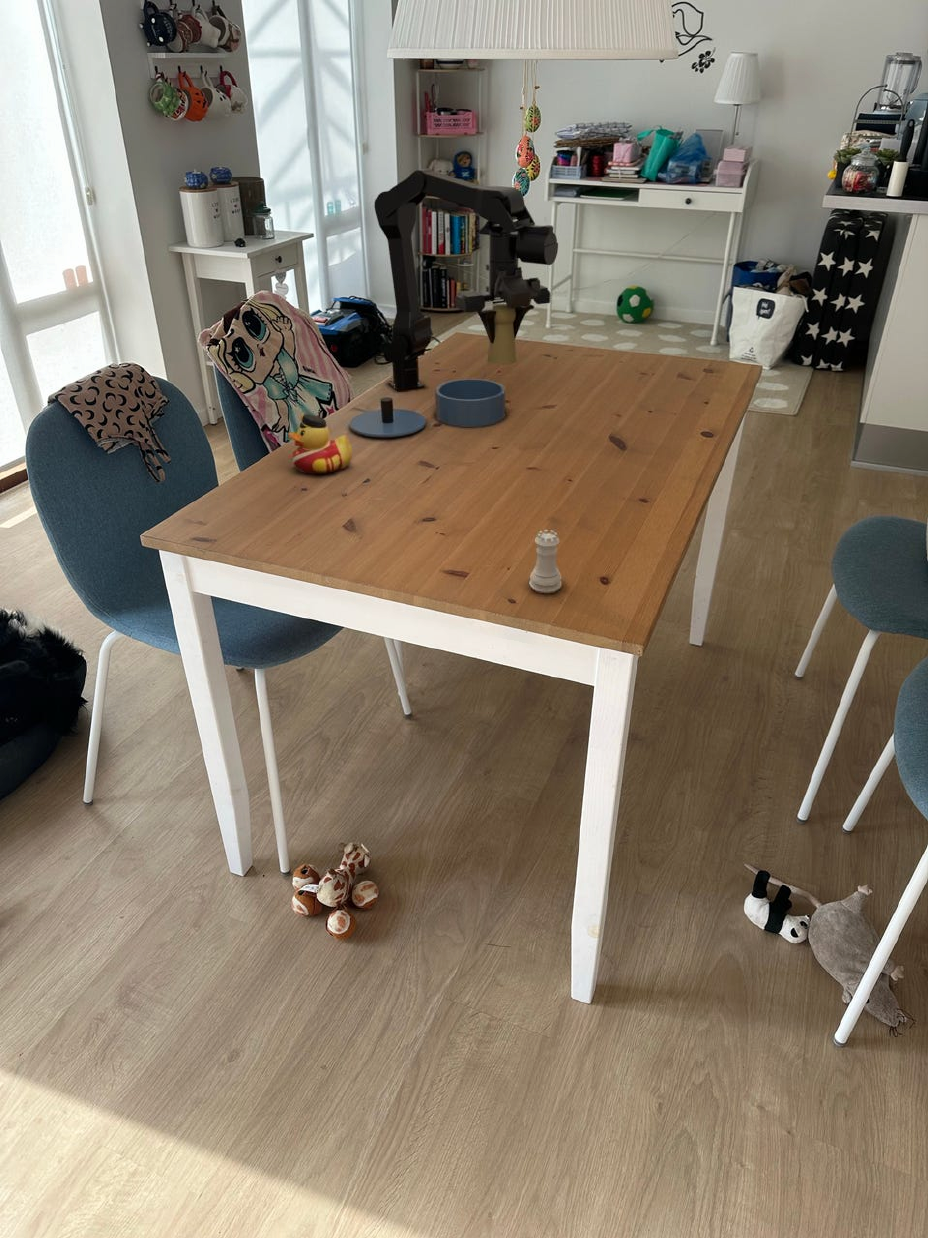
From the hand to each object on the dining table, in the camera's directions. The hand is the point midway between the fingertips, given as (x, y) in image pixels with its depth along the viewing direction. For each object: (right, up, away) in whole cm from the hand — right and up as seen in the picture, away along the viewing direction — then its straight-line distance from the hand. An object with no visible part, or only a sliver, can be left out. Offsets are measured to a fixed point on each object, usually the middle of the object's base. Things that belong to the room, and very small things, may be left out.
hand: (502, 341), depth 179 cm
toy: (-33, -30, -22) cm, 49 cm away
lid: (-23, -18, -5) cm, 29 cm away
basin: (-7, -15, +1) cm, 16 cm away
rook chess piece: (+3, -52, -58) cm, 78 cm away
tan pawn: (0, -3, +2) cm, 4 cm away
